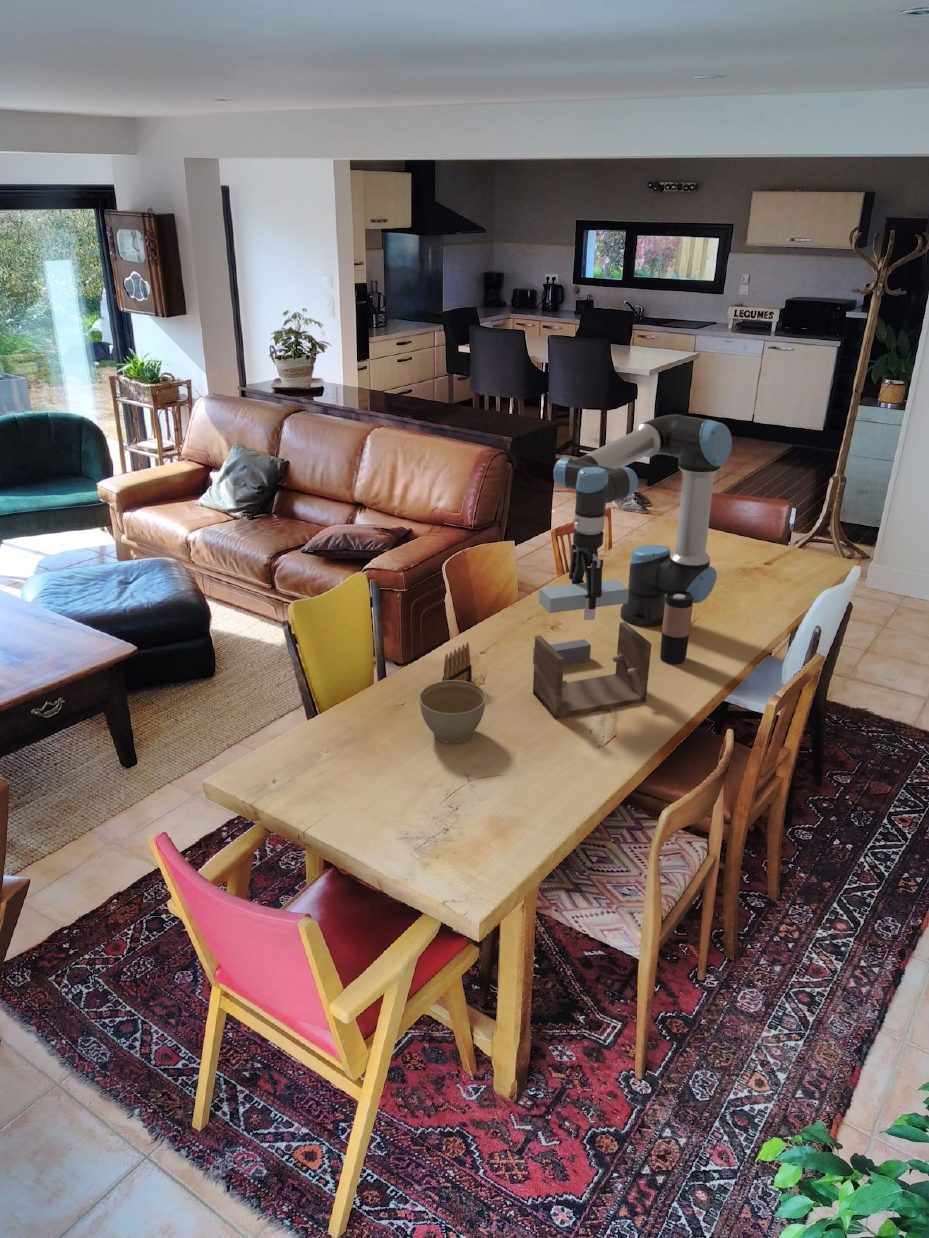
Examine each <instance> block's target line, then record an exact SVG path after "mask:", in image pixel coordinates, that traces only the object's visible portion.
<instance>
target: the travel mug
mask: <svg viewBox="0 0 929 1238" xmlns="http://www.w3.org/2000/svg"><path fill="white" fill-rule="evenodd" d="M693 598H694V597H692V594H691V593H690V592H687V591H684V590H671V591H668V592H667V593H666V600H665V609H664V618H663V625H661V626H662V627H661V628H662V629H661V641H660V652H659V653H660V656H659V657H660V660H661V661H662V662H664V663H666V664H669V665H681V664H684V663H685V662H686V658H687V653H688V647H689V639H690V632H691V623H692V614H693V613H692V612H693V605H694V603H693Z"/></svg>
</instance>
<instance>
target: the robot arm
mask: <svg viewBox="0 0 929 1238" xmlns="http://www.w3.org/2000/svg"><path fill="white" fill-rule="evenodd" d="M732 441H733V440H732V434H731V431H730V429H729V428H728V426H727V425H726V424H724V423H722V422H718V421H716V420H712V419H706V418H702V417H701V418H700V417H695V416H687V415H682V414H667V415H662V416H659V417H655V418H652V419H649V420H647V421H645V422H642V423H640V424H638V425H637V426H636V427H635V428H634V429H633V431H632V432H630V433H628V434H625V435H624V436H622V437H619V438H618V439H616V440H613V441H611V442H609V443H607V444H606V445H603V446H601V447H599V448H596V449H594V450H592V451H591V452H589V453H586V454H585V455H582V456H580V457H578V458H575V459H573V458H572V457H561V458H560V459H558V461H556V463H555V464H554V468H553V475H552V476H553V480H554V482H555V484H557V485H559V486H562V487H564V488H566V489H571V490H575V508H574V509H575V510H574V518H573V523H574V524H573V525H574V526H573V528H574V530H573V535H572V536H573V537H572V543H573V544H571V556H570V557H571V558H570V563H569V564H570V566H569V572H568V579H569V580H571V585H573V584H582V583H586V584H587V596H585V609H584V610H583V611H584V614H583V620H584V621H591V620H595V619H596V608H597V607H596V598H597V597H601V596H602V581H603V565H604V559H599V558H598V557H599V556H598V550H599V548H601V547H602V546H603V543H604V534H605V533H604V530H605V521H606V506H607V504H610V503H612V502H615V501H618V500H621V499H625V498H627V497H629V496H631V495H632V494H634V493H635V492H636V490H637V489H638V485H639V479H638V476H637V474H636V472H635V471H634V470H633V469H632V468H631V467H626V466H628V465H630V464H632V463H634V462H636V461H638V460H640V459H643V458H645V457H646V458H651V457H654V456H656V455H666V456H671V457H674V458H678V463H677V465H678V466H677V467H678V469H679V470H680V471H681V472H682V481H681V491H680V502H679V513H678V520H677V521H678V525H677V531H676V532H677V533H676V534H677V535H676V544H675V550H674V551H673V552H671V548H670V547H669V546H666V545H662V544H661V545H660V544H645V545H641V546H638V547H636V548H635V549H633V550H632V551H631V554H630V555H631V556H630V561H629V574H628V587H627V588H628V589H629V593H628V603H625V604H621V606H620V607H621V608H620V618H621V619H622V620H623V622H625V623H627V624H631V625H633V626H639V627H647V628H648V627H659V626H663V618H664V609H665V600H666V593H667V592H668V591H671V590H684V591H687V592H690V593H691V594H692V597H694V598H693V604H699V603H702V602H703V601H705V600H706V599H707V598H708V596H709V595H711V593H712V591H713V589H714V587H715V585H716V581H717V570H716V569H715V568H714V567H713V566H710V564H711V556H710V555H709V554H708V553H707V543H708V534H709V526H710V525H709V524H710V516H711V515H710V514H711V506H712V499H713V498H712V497H713V488H714V487H713V486H714V478H715V474H717V473H718V472H719V471H720V470H721V467H722V466H724V465H725V464H726V463H727V461H728V460H729V456H730V455H731V452H732V448H733V447H732V446H733V442H732ZM584 576H585V581H586V582H585V581H584V580H583V579H584Z"/></svg>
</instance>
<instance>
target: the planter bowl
mask: <svg viewBox="0 0 929 1238" xmlns="http://www.w3.org/2000/svg"><path fill="white" fill-rule="evenodd" d="M418 696H419V697H418V698H419V699H418V701H419V704H420V712H421V715H422V717H423V720H424V722H425V724H426V726H427V727H428V729H429V730H430V731H431V733H433V736H434V737H435V739H436V740H438V741H439V742H441V743H444V744H449V745H452V744H453V745H457V744H462V743H464V742H466V741H469V739H471V737H472V736H473V733H474V731H475V730H476V729H477V728H478V726H479V725H480V723H481V721H482V718H483V715H484V712H485V706H486V705H485V704H486V701H487V694H486V693H485V690H484V689H483V688H481V687H480V686H479V685H476V684H475V683H473V682H466V681H460V680H447V681H443V680H441V681H437V682H434V683H432V684H429V685H427V686H426V687H424V688H423V689H422V690H421V691H420V693H419V695H418Z"/></svg>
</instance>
